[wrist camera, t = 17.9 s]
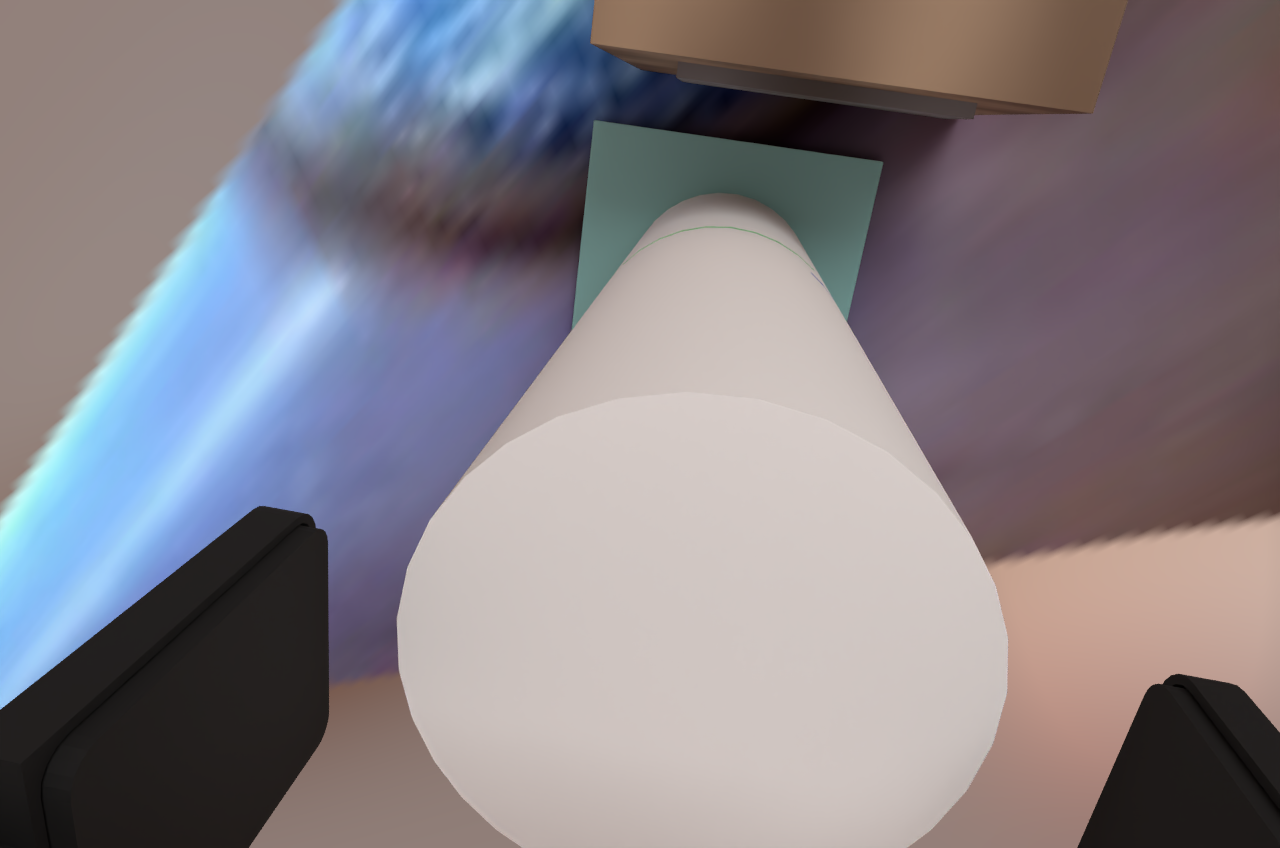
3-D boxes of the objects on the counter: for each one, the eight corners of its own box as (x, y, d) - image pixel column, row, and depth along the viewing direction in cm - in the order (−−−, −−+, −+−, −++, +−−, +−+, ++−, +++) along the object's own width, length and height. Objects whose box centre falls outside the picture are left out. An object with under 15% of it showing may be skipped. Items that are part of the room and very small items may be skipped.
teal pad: (880, 161, 31) (883, 162, 31) (819, 427, 35) (821, 433, 35) (596, 119, 32) (594, 120, 31) (567, 387, 36) (565, 391, 35)
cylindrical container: (693, 402, 35) (620, 973, 12) (594, 261, 33) (276, 593, 10) (842, 309, 33) (1119, 771, 10) (745, 154, 31) (793, 255, 8)
